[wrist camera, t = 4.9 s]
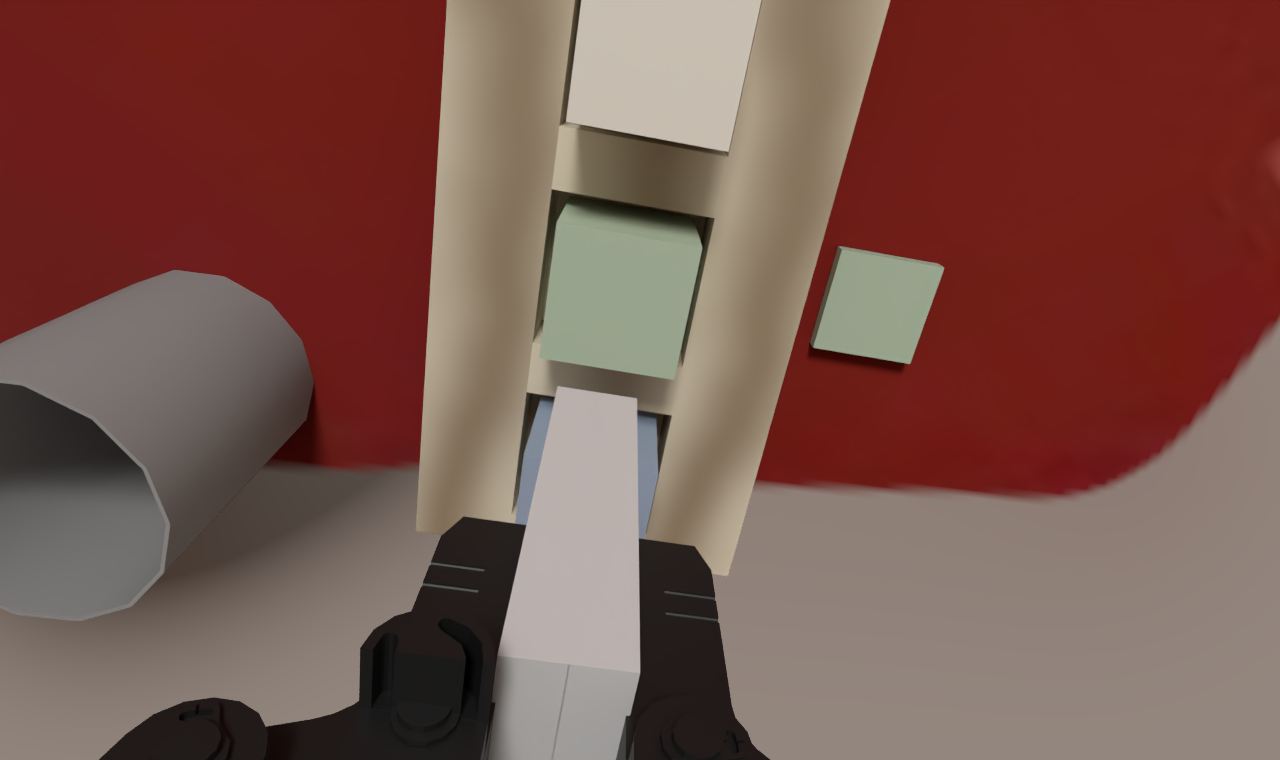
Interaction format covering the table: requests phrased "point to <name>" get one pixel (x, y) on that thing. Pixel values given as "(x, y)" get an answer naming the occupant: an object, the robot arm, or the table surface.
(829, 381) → the table surface
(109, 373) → the cup
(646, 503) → the button blue
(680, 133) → the button cream
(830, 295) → the tile
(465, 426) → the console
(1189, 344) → the table surface
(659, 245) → the button sage
